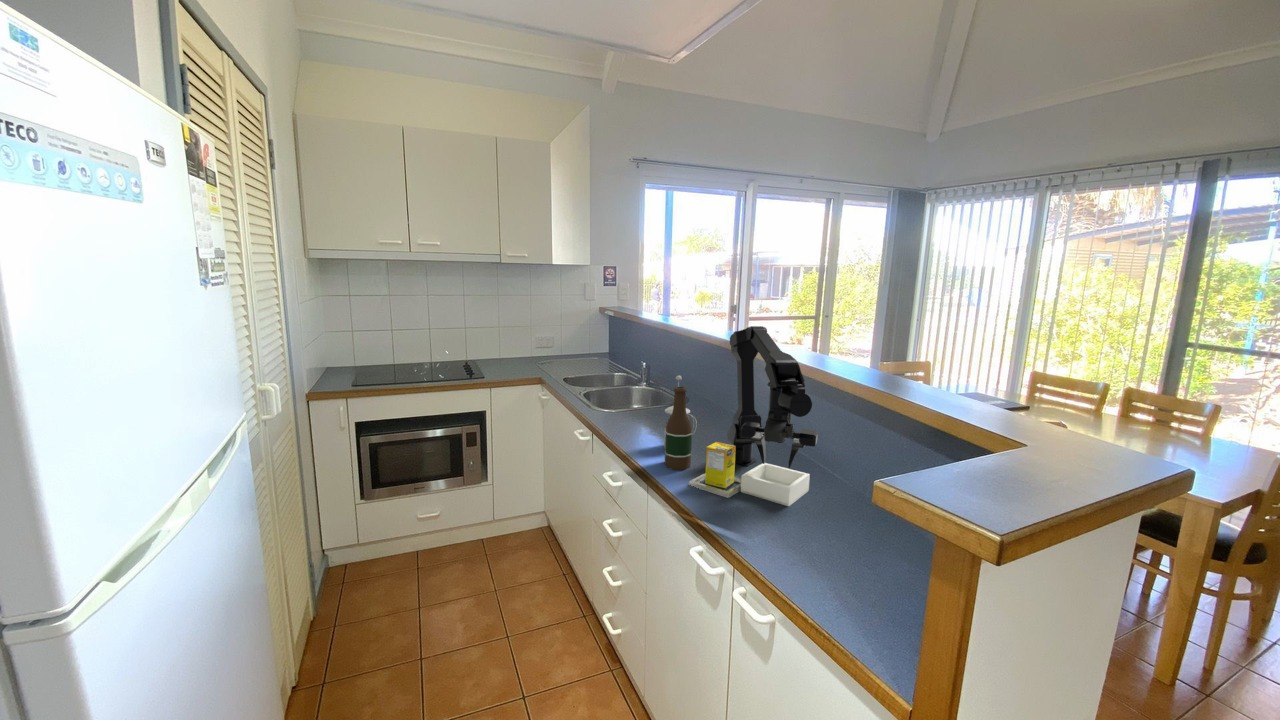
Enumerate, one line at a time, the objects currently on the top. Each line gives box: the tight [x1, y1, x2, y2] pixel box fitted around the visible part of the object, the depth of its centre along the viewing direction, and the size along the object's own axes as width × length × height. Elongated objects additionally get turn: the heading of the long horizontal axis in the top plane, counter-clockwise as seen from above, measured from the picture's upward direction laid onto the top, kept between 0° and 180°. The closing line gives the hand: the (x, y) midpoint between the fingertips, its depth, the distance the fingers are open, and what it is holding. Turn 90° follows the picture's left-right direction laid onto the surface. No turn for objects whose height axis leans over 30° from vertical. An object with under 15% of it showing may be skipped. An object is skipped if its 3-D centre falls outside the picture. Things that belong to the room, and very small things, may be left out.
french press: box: [663, 375, 698, 449], centre depth 161 cm, size 10×12×25 cm
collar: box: [688, 472, 742, 499], centre depth 136 cm, size 12×12×1 cm
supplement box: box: [704, 441, 736, 491], centre depth 135 cm, size 6×6×11 cm
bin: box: [740, 462, 811, 507], centre depth 133 cm, size 13×13×5 cm
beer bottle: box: [664, 386, 693, 471], centre depth 147 cm, size 8×8×24 cm
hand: (776, 465), depth 132 cm, fingers open, 6 cm apart
